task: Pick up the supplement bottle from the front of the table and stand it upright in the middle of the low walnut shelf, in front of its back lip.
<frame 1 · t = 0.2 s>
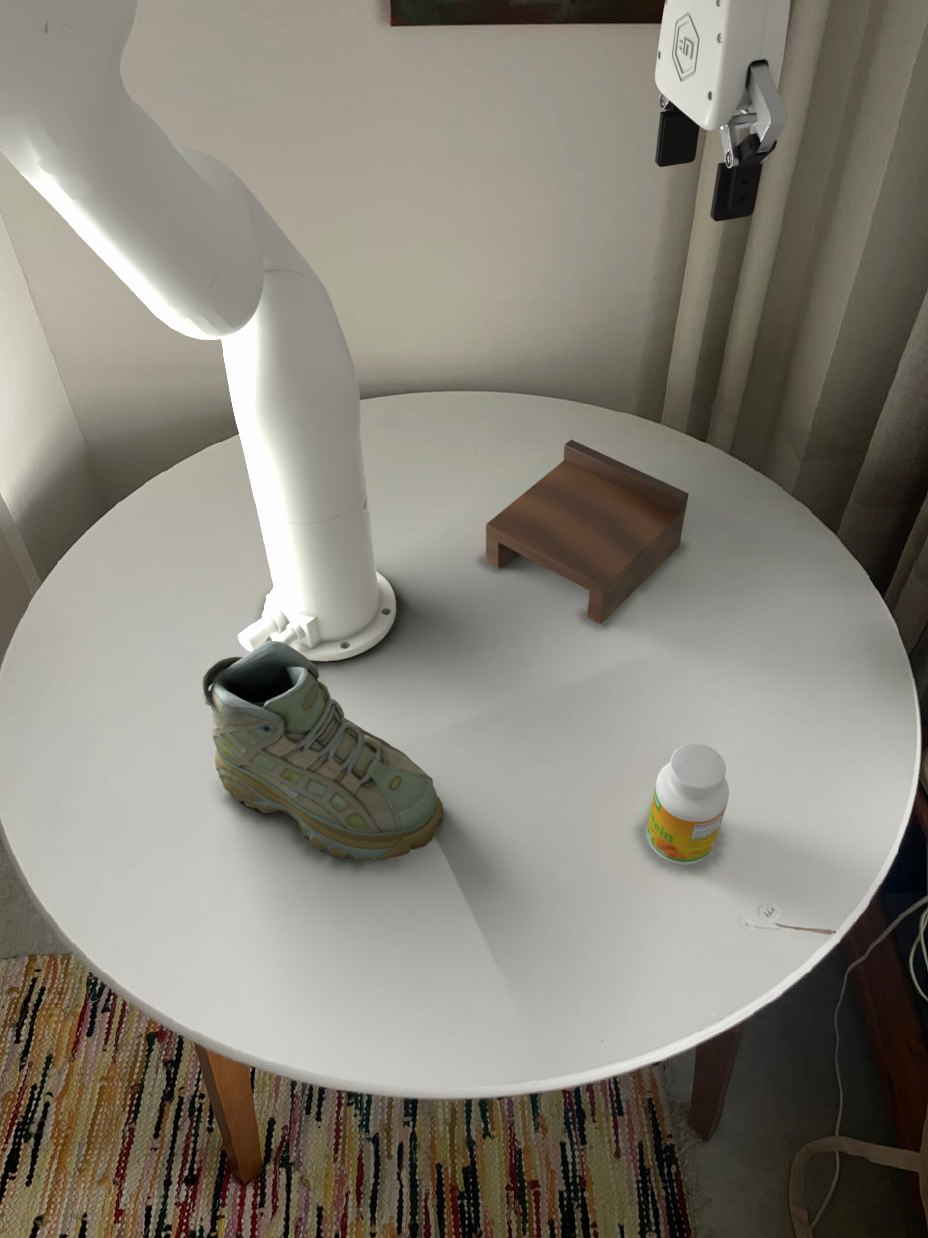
hand: (701, 188, 77), 37 cm above the table, tool pointing down, fingers open, 9 cm apart
supplement bottle: (679, 838, 81), on the table
sneaker: (331, 800, 84), on the table
shelf: (583, 554, 104), on the table
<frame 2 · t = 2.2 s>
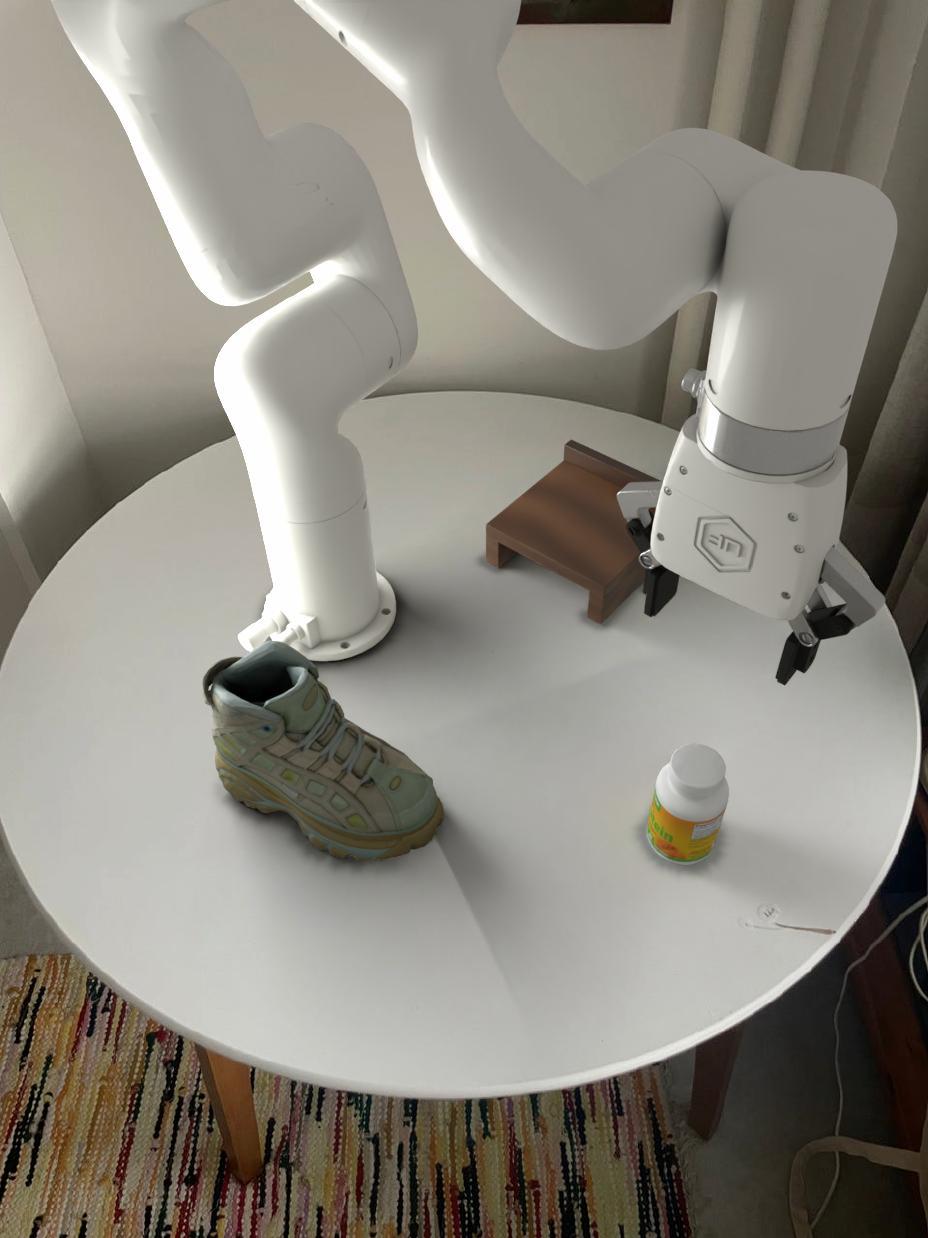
hand: (723, 636, 67), 21 cm above the table, tool pointing down, fingers open, 9 cm apart
nothing on the table moved.
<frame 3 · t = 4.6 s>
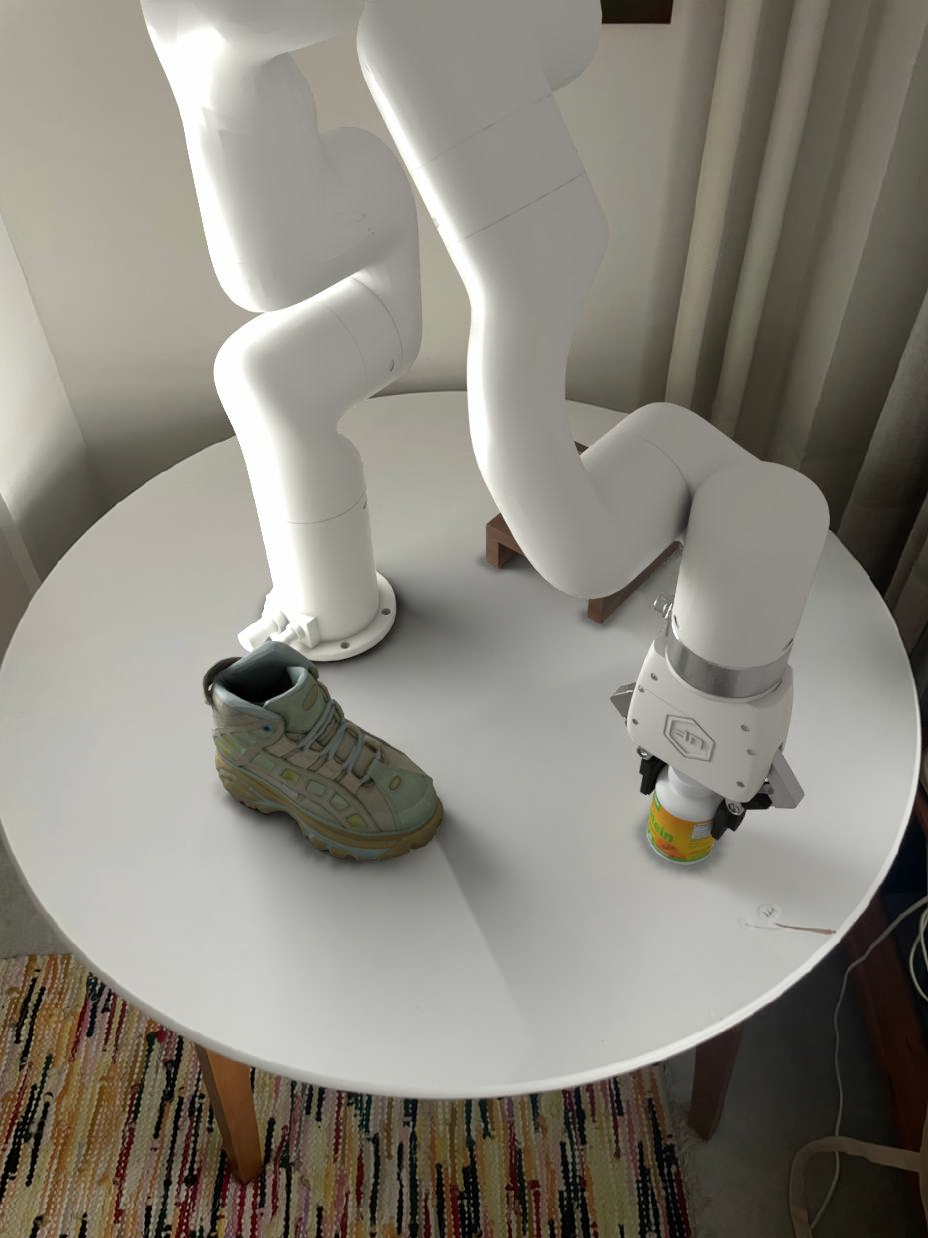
hand: (688, 802, 78), 5 cm above the table, tool pointing down, fingers closed on supplement bottle, 5 cm apart
supplement bottle: (679, 838, 81), on the table, touching gripper
everything else where it was.
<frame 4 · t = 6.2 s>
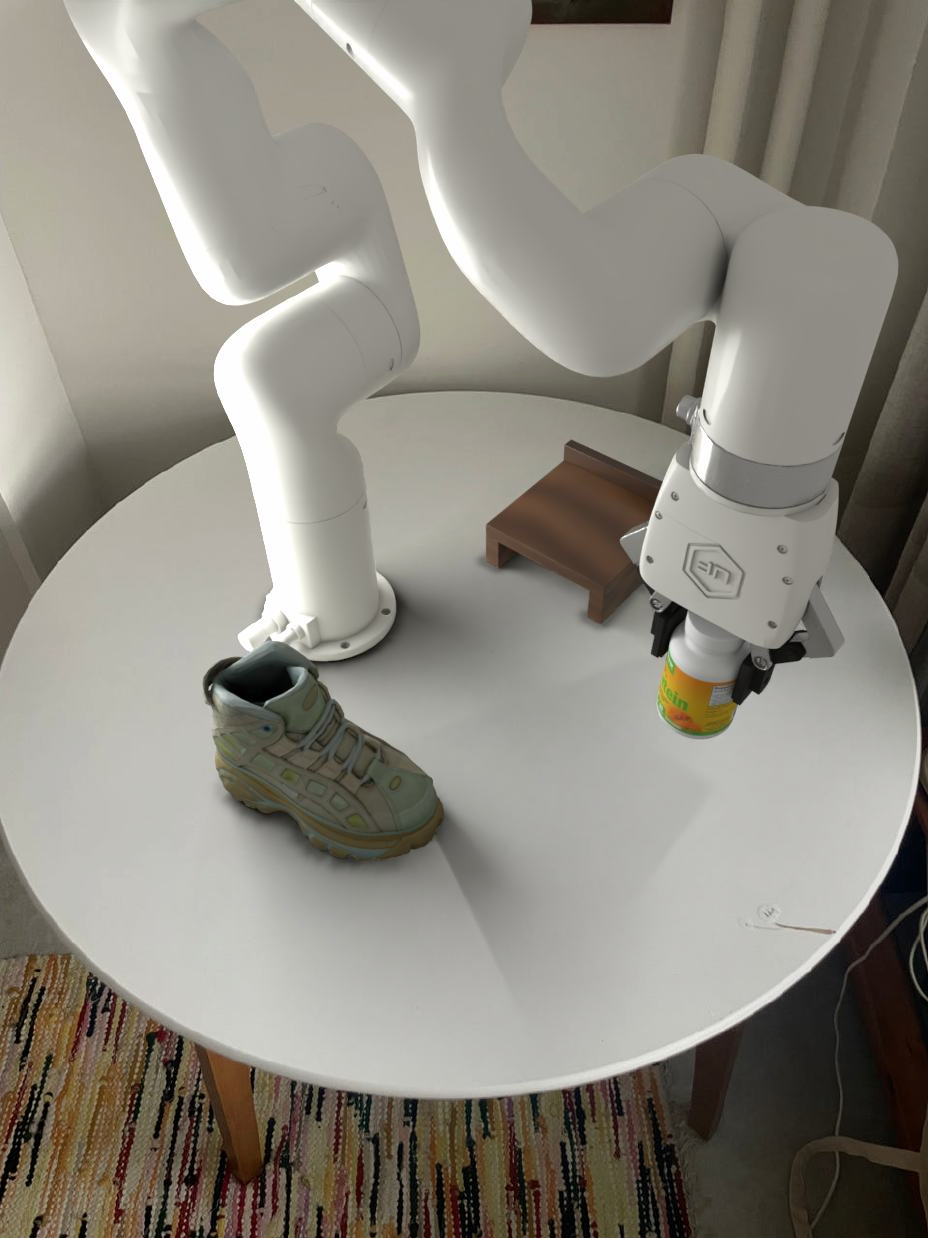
hand: (706, 665, 68), 19 cm above the table, tool pointing down, fingers closed on supplement bottle, 5 cm apart
supplement bottle: (693, 712, 72), point 14 cm above the table, touching gripper
everything else where it was.
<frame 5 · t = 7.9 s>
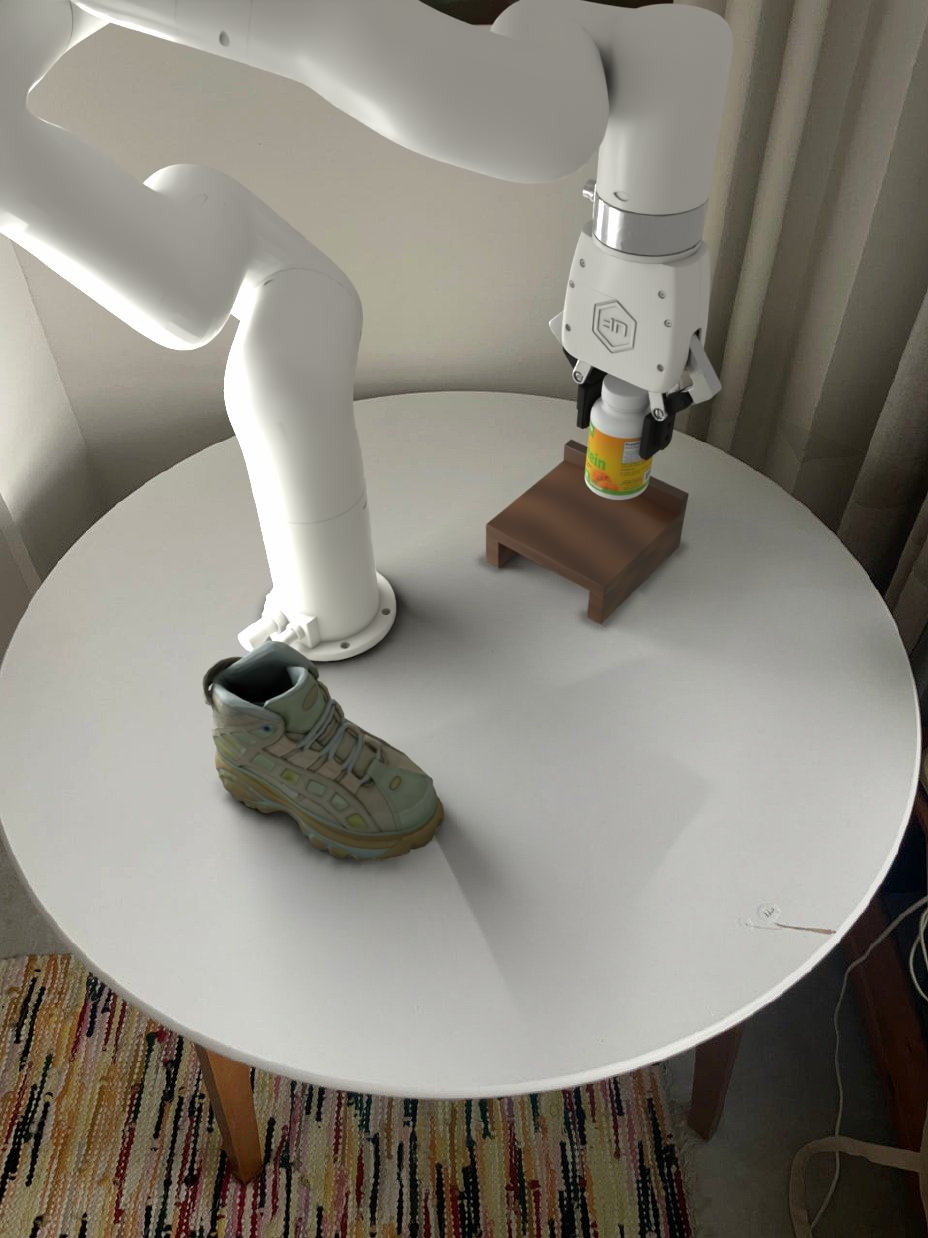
hand: (621, 433, 83), 21 cm above the table, tool pointing down, fingers closed on supplement bottle, 5 cm apart
supplement bottle: (616, 483, 86), point 16 cm above the table, touching gripper
everything else where it was.
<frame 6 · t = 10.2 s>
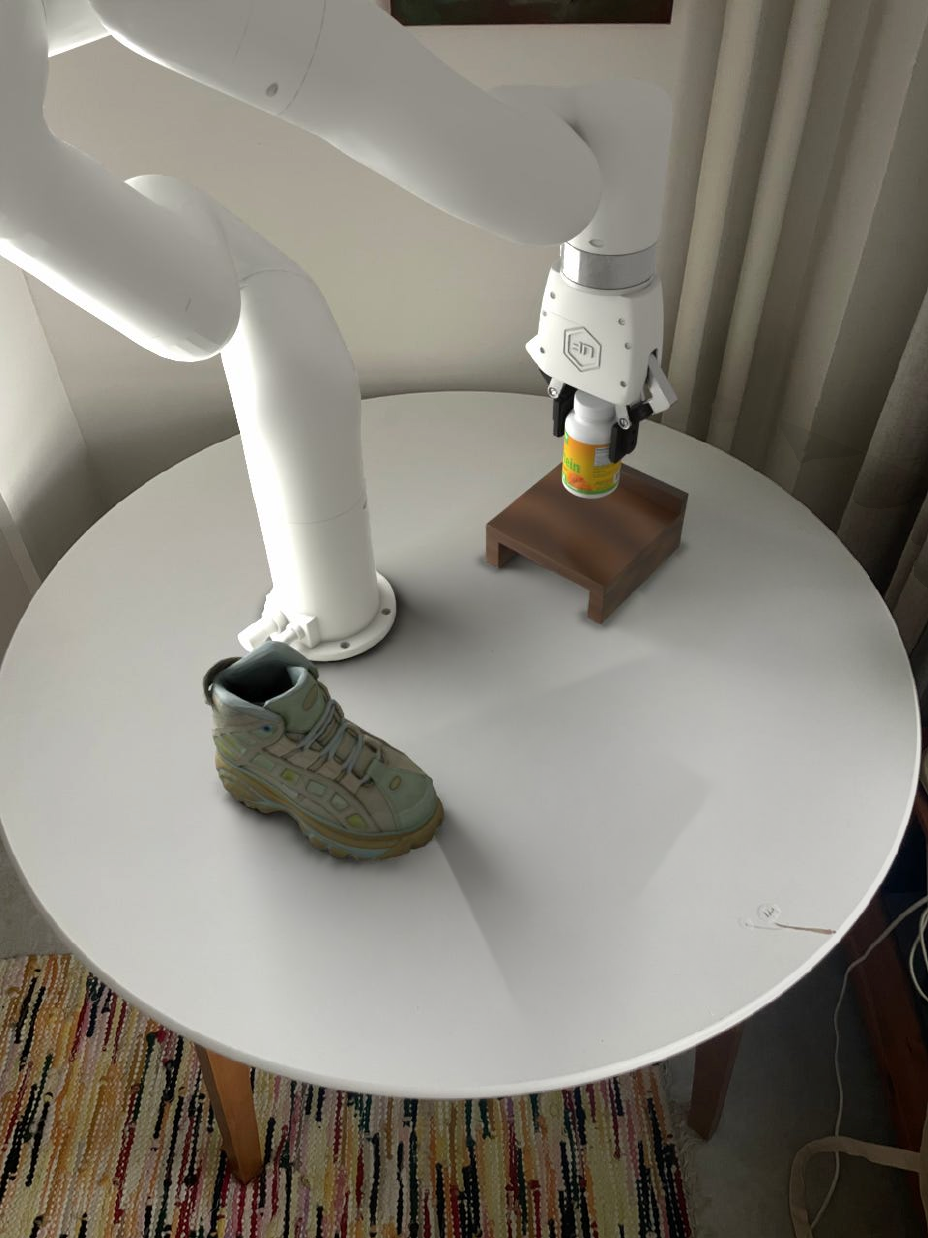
hand: (593, 440, 94), 14 cm above the table, tool pointing down, fingers closed on supplement bottle, 5 cm apart
supplement bottle: (589, 483, 97), point 9 cm above the table, touching gripper
everything else where it was.
when the fingers open (10 cm above the table, at t = 11.7 s): supplement bottle stays where it is, resting on shelf.
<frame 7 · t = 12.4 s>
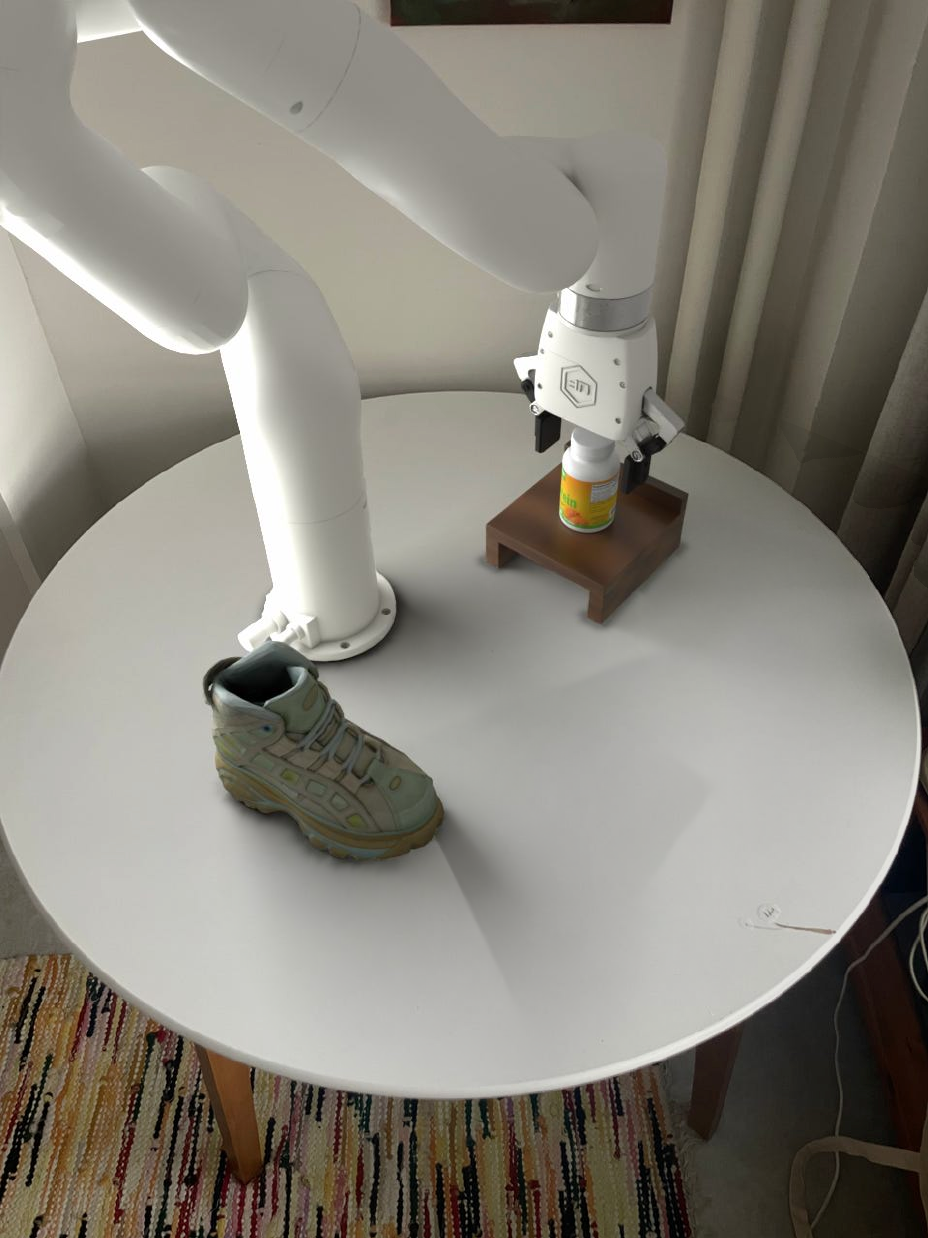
hand: (589, 465, 96), 11 cm above the table, tool pointing down, fingers open, 9 cm apart
supplement bottle: (586, 517, 101), point 5 cm above the table, touching shelf
everything else where it was.
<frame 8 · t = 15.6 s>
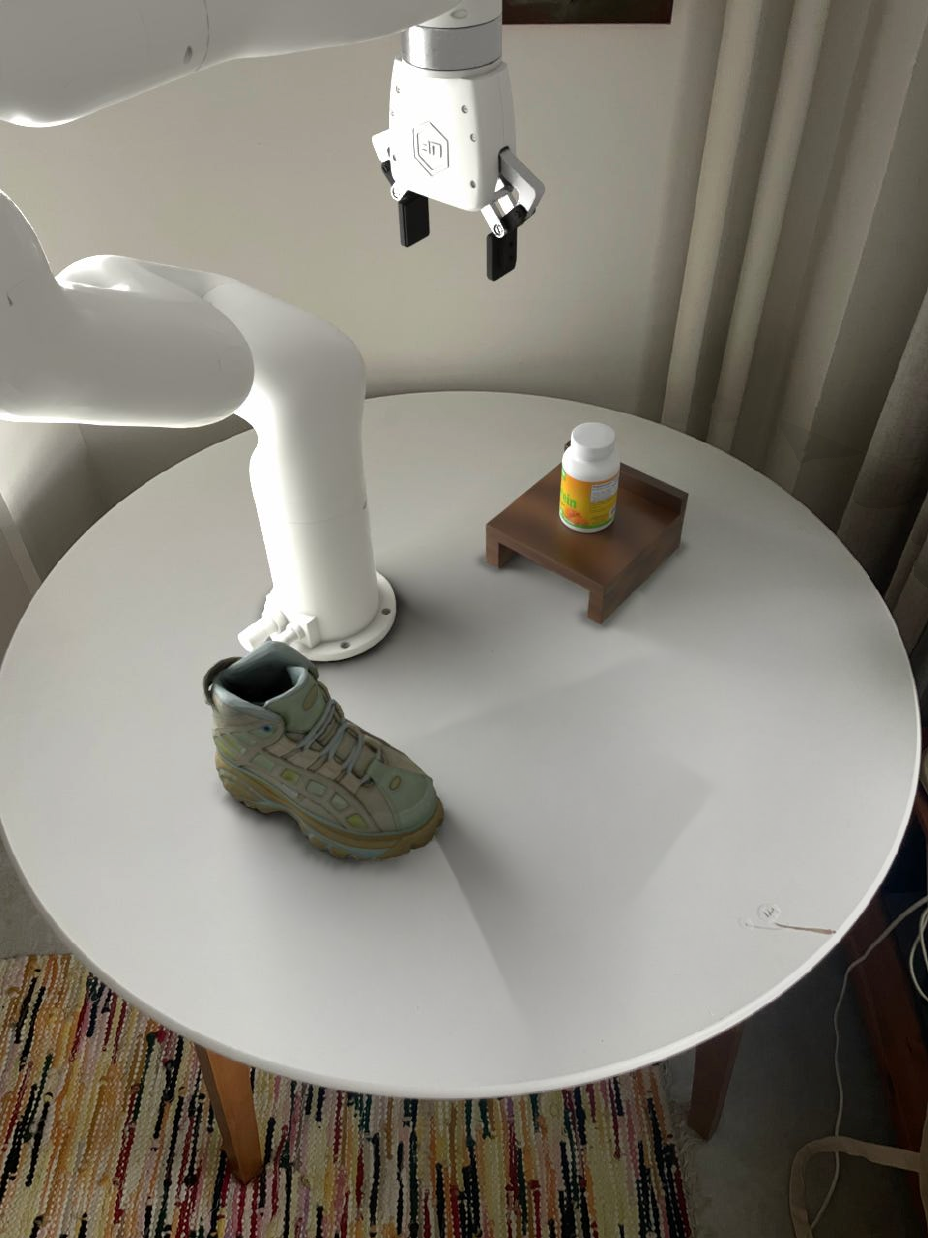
hand: (457, 257, 89), 28 cm above the table, tool pointing down, fingers open, 9 cm apart
nothing on the table moved.
at the end: supplement bottle inside the target area on the shelf (0.1 cm from its centre), point 4.8 cm above the shelf's base; supplement bottle tilted 0°; the gripper is holding nothing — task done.
